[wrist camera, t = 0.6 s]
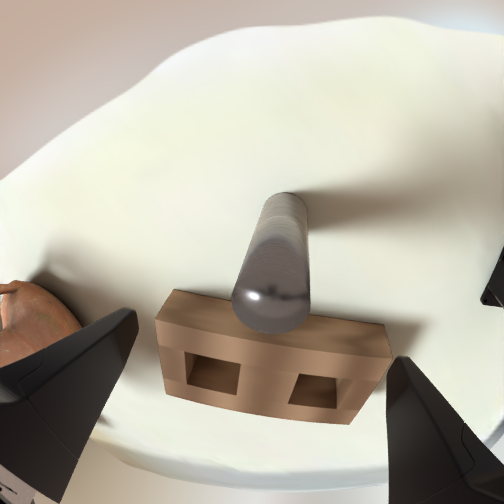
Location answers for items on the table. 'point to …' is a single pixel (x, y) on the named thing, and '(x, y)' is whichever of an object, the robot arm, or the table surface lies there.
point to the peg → (275, 269)
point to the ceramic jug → (31, 320)
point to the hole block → (268, 362)
